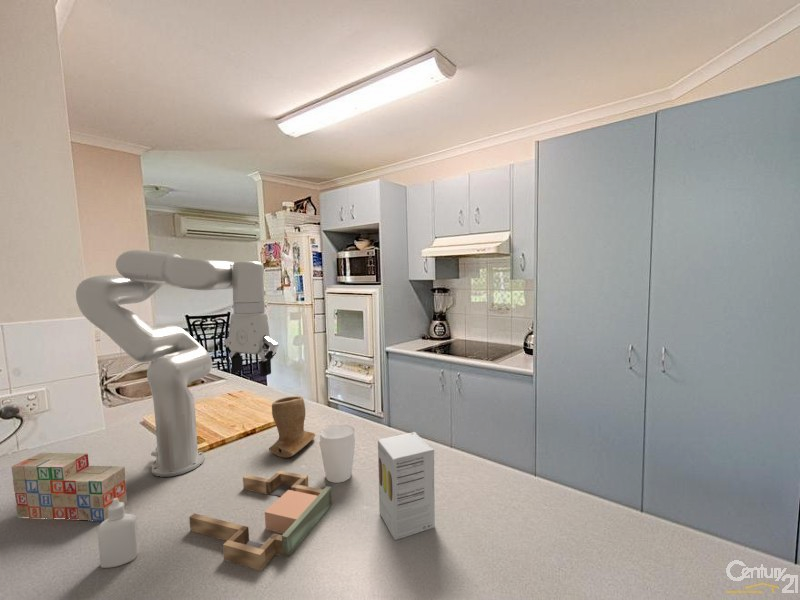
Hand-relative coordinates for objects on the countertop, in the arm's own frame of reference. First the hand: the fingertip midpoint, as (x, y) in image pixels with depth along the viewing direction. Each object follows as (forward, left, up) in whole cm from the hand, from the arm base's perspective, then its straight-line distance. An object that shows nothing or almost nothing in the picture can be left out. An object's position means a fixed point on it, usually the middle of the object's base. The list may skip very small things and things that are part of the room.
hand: (251, 373), depth 95 cm
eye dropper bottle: (-4, -33, -27) cm, 43 cm away
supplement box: (+44, -7, -27) cm, 53 cm away
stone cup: (0, +14, -27) cm, 31 cm away
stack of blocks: (-29, -26, -27) cm, 48 cm away
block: (+21, -14, -27) cm, 37 cm away
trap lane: (+14, -15, -27) cm, 34 cm away
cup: (+22, +4, -27) cm, 36 cm away
